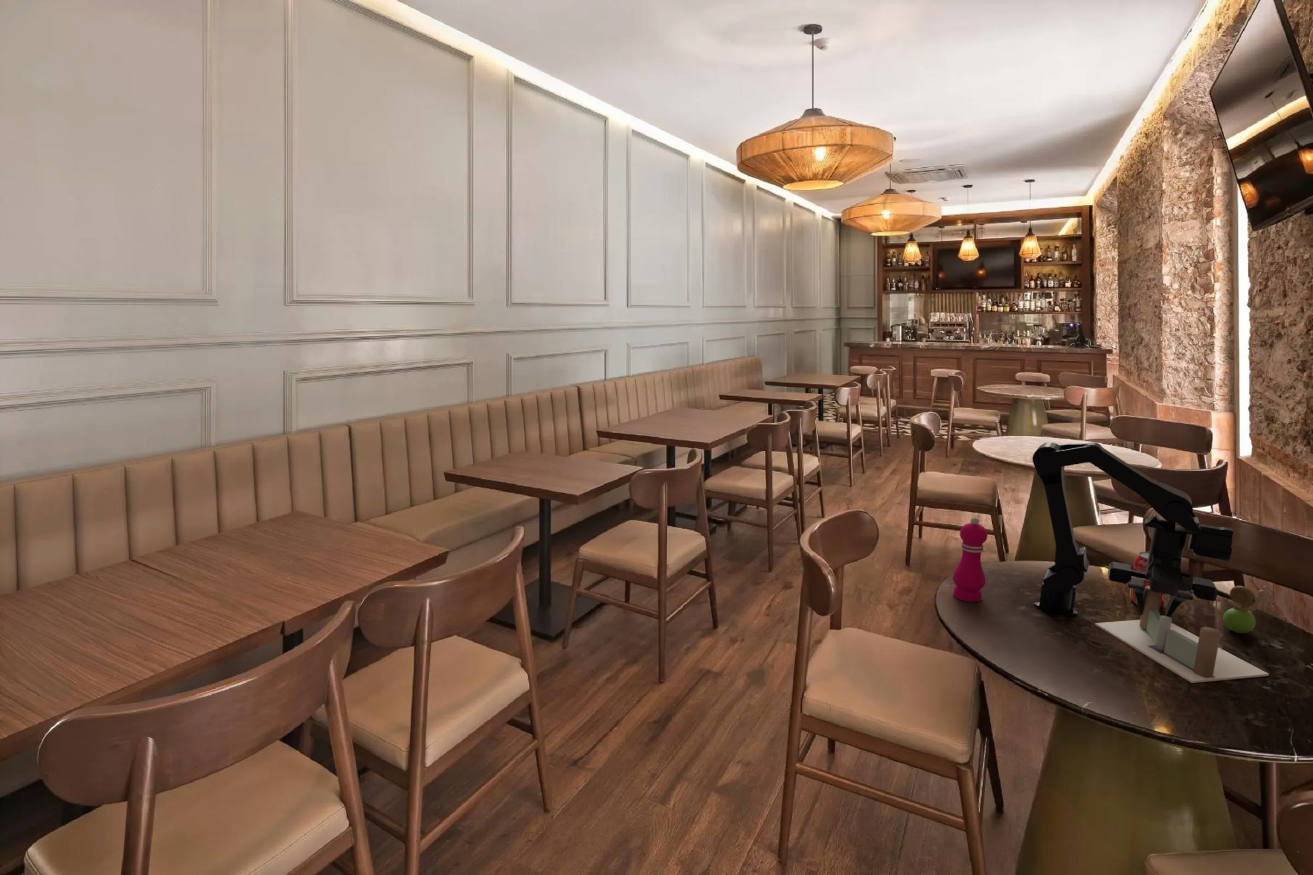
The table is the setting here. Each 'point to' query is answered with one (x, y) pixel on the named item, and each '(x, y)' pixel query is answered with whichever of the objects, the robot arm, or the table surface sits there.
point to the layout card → (1142, 641)
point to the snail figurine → (1242, 609)
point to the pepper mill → (970, 563)
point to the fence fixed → (1189, 647)
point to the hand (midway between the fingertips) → (1153, 617)
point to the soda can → (1141, 567)
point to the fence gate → (1151, 612)
